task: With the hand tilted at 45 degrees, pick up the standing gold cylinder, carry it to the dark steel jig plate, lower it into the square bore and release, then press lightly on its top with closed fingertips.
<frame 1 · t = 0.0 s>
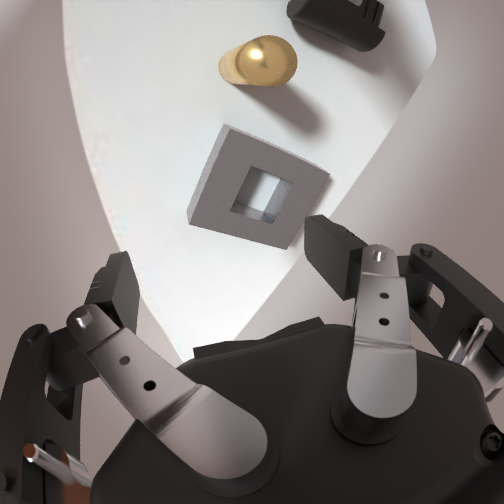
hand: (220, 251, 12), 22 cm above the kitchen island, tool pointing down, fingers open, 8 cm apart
jig: (254, 185, 35), on the kitchen island
gold cylinder: (237, 66, 26), on the kitchen island
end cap: (321, 16, 23), on the kitchen island
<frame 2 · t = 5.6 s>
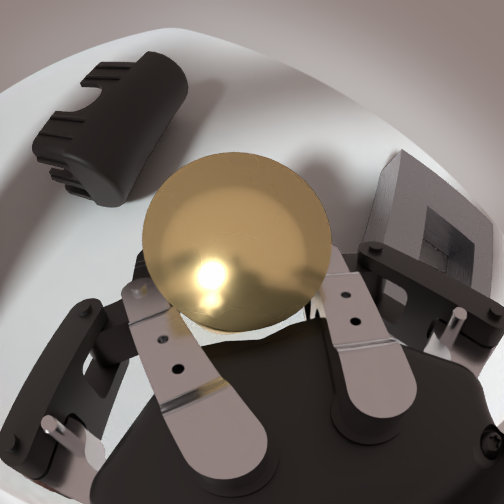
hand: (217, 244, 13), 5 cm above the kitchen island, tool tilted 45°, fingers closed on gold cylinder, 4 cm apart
jig: (421, 271, 19), on the kitchen island
gold cylinder: (223, 298, 17), on the kitchen island, touching gripper
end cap: (126, 155, 19), on the kitchen island
when the fingers open (7 cm above the kitchen island, at t = 11.3 s): gold cylinder drops 2 cm, resting in jig.
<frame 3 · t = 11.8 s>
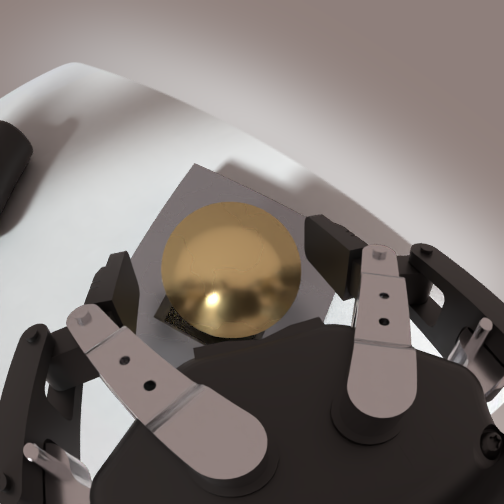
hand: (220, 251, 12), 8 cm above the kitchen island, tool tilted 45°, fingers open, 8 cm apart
jig: (222, 303, 19), on the kitchen island
gold cylinder: (222, 305, 19), resting in jig
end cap: (4, 198, 19), on the kitchen island
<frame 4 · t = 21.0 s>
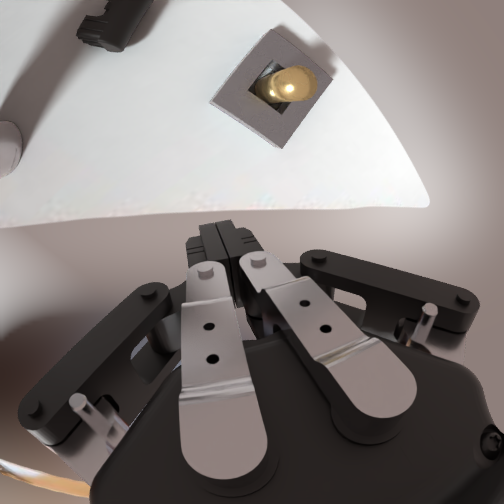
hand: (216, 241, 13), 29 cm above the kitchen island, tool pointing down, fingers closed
jig: (269, 88, 36), on the kitchen island
gold cylinder: (269, 89, 36), resting in jig
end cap: (121, 23, 25), on the kitchen island
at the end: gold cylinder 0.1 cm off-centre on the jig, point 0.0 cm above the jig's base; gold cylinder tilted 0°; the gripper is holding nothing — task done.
